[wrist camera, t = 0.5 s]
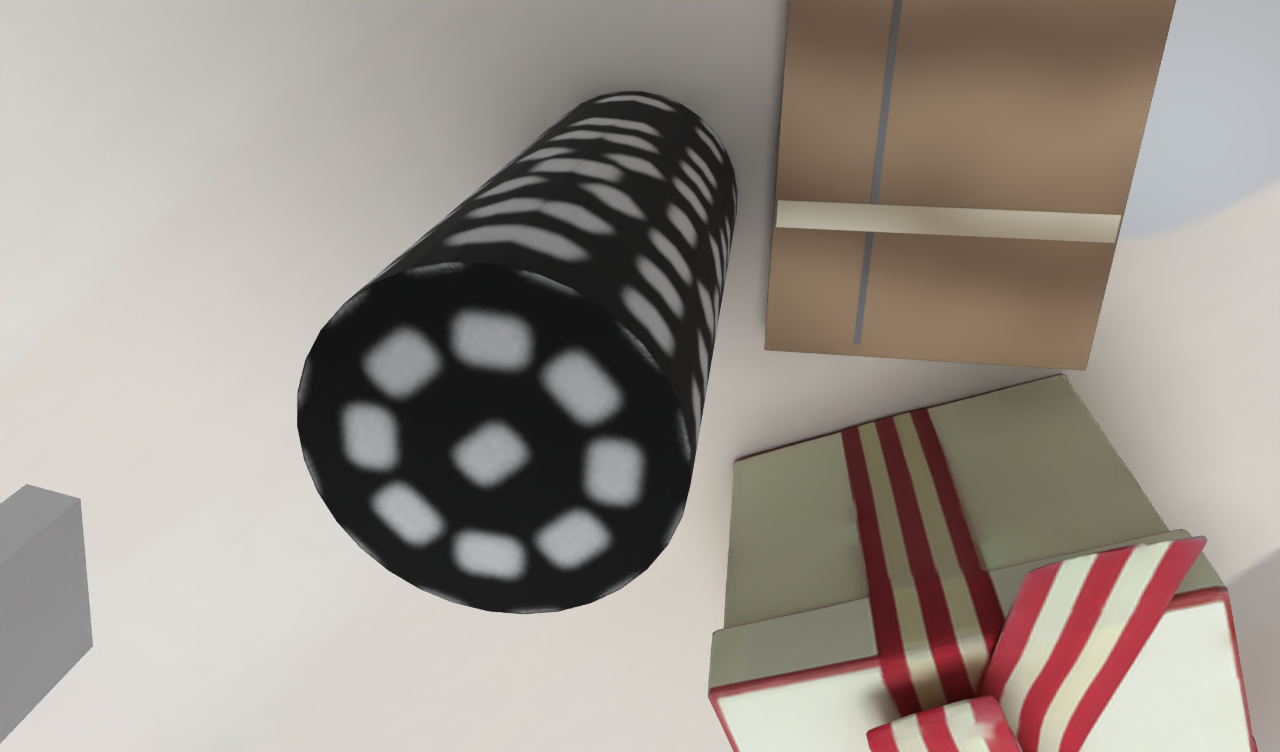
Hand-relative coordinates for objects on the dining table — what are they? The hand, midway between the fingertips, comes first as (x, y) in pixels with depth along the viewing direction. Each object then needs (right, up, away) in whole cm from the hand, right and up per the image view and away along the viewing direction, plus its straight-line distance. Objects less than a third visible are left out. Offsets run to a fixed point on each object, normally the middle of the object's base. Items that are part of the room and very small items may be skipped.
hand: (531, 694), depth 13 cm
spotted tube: (+1, +12, +24) cm, 27 cm away
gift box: (+16, -2, +29) cm, 33 cm away
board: (+13, +17, +19) cm, 29 cm away
